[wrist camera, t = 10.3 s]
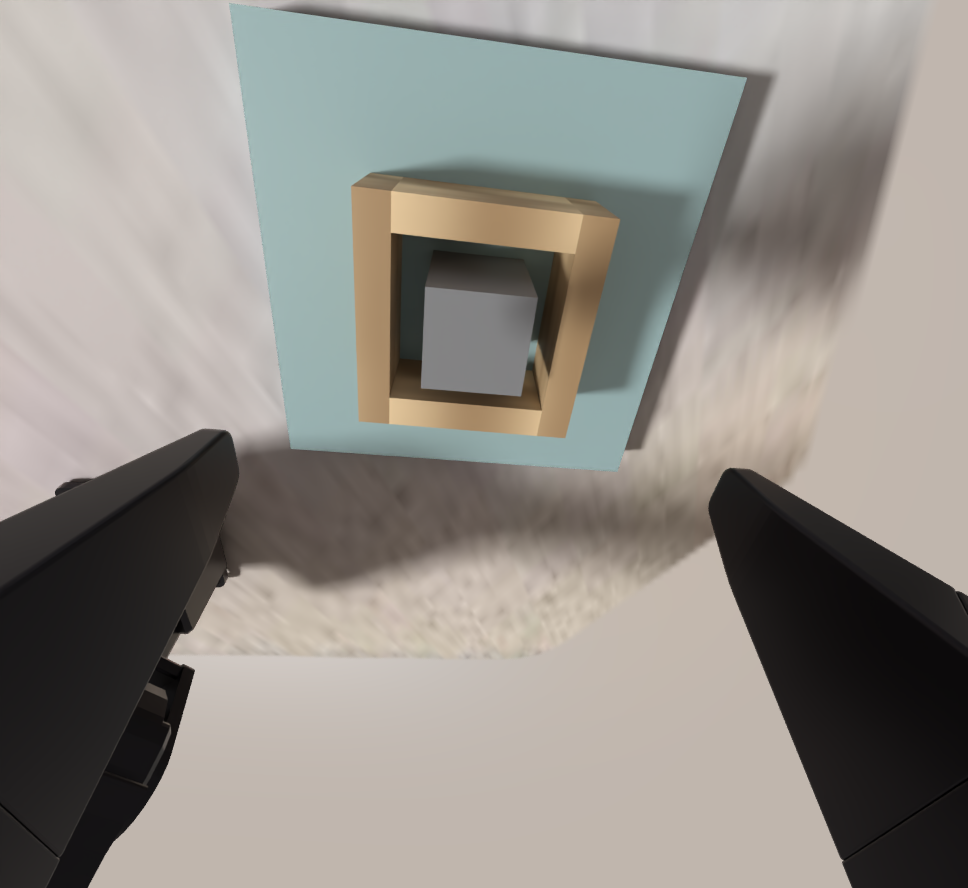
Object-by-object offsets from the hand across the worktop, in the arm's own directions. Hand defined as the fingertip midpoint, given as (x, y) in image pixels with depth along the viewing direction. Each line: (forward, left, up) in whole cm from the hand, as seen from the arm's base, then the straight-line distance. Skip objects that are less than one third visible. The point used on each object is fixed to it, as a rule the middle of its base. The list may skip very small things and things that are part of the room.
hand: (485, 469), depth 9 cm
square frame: (0, 0, -10) cm, 10 cm away
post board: (0, 0, -11) cm, 11 cm away
